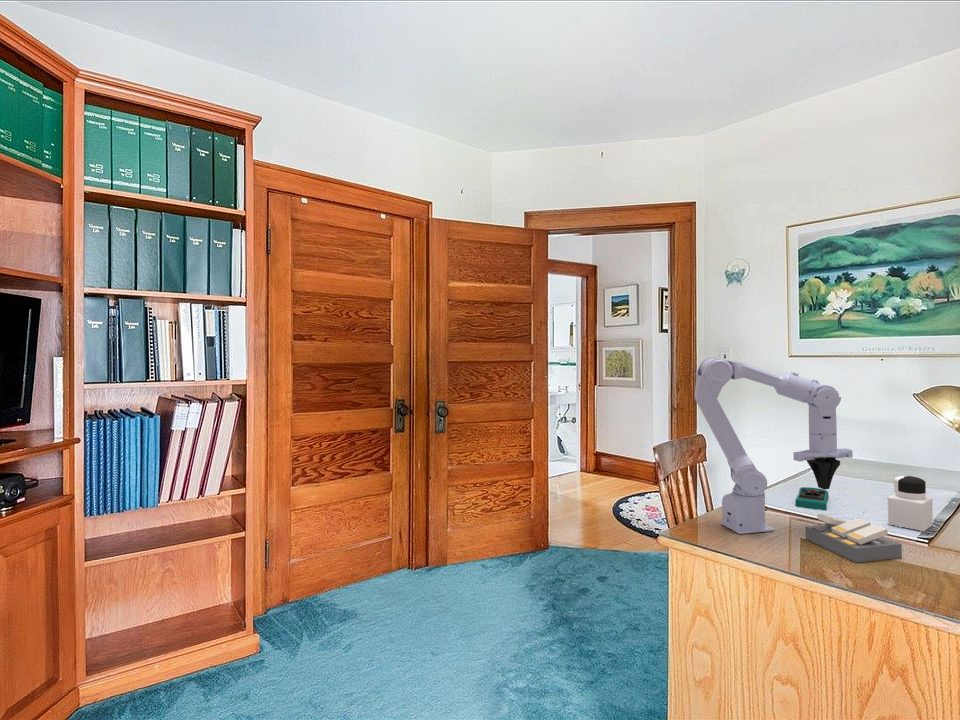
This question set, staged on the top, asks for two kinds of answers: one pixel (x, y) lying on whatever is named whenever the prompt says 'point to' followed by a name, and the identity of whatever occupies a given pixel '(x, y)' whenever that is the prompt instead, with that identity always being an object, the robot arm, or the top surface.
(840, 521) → the rocker
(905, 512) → the medicine bottle
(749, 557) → the top surface
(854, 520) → the rocker
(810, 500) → the digital multimeter
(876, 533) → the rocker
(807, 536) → the switch unit
